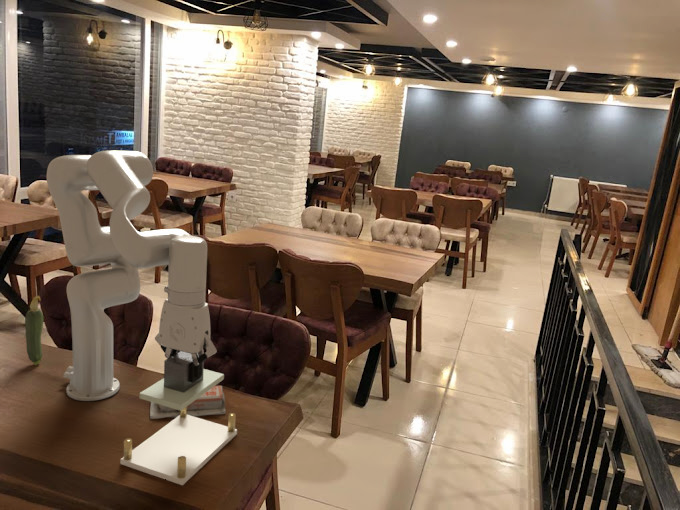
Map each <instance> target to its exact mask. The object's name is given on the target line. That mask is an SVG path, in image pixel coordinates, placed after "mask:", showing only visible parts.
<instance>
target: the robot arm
mask: <svg viewBox="0 0 680 510" xmlns="http://www.w3.org/2000/svg"><path fill="white" fill-rule="evenodd" d="M153 176H154V168H153V165H152V162H151V160H150V159H149V157H147V155H146V154H144V153H142V152H141V151H137V150H113V149H112V150H111V149H109V150H100V151H98V152H95V153H93V154H92V155H91V154H67V155H62V156H58V157H56V158H54V159H52V160H51V161H50V162H49V164H48V166H47V170H46V183H47V188H48V192H49V195H50V196H51V199H52V201H53V203H54V205H55V208H56V210H57V212H58V216H59V221H60V226H61V232H62V237H63V242H64V247H65V252H66V256H67V259H68V261H69V262H70V264H71V265H72V266H75V267H79V268H80V267H81V268H82V267H83V268H84V267H86V268H87V267H92V266H93V267H94V266H100V265H105V264H110V267H111V268H106V269H100V270H99V269H98V270H93V271H86V272H82V273H79V274H77V275H75V276H73V277H72V278H71V279H69V281H68V283H67V285H66V295H67V301H68V305H69V309H70V310H69V311H70V317H71V338H72V341H71V342H72V343H71V344H72V347H71V348H72V366H71V365H69V366H68V367H67V368H66V371H65V372H64V373H63V375H62V377H63V378H67V379H69V384H67V386H66V390H65V391H66V395H67V396H68V397H69V398H70V399H73V400H76V401H81V402H93V401H100V400H105V399H107V398H110V397H112V396H114V395H115V394H117V392H119V390H120V388H121V385H120V384H121V383H120V381H119V379H117V378H115V377H114V324H113V322H112V321H113V320H111V318H110V316H109V315H107V314H106V313H105V311H104V310H105V309H107V308H110V307H116V306H120V305H124V304H128V303H133V301H135V300H137V299H138V298H139V295H140V293H141V280H140V279H141V278H140V274H139V269H142V270H143V269H148V268H153V267H154V268H155V267H160V266H168V272H167V273H168V275H167V276H168V277H167V280H168V281H167V282H168V283H167V285H166V286H164V289H163V292H164V293H166V294H167V298H166V299H165V300H164V301H163V305H162V308H161V312H160V318H159V319H160V320H159V328H158V333H157V334H156V335H155V337H154V341H156V342H157V344H158V345H159V346H160V348H161V350H162V352H163V353H164V357H165V358H166V359H168V358H170V357H172V356H173V355H175V354H177V353H178V351H179V352H180V351H182V352H186V353H190V354H191V356H192V361H193V364H192V365H191V372H190V382H192V383H194V382H195V381H197V380H198V379H199V378H201V376H202V362H203V361H204V362H205V361H206V360H207V359H209V358H210V357H211V356H213V355H215V354H216V353H218V352H217V351H218V350H217V348H216V346H215V345H214V343H213V341H212V340H211V318H210V317H211V315H210V311H209V310H210V309H209V305H208V302H206V295H207V293H206V291H207V270H208V269H207V268H208V267H207V266H208V243H207V241H206V239H204V238H202V237H200V236H196V235H191V234H190V233H188V232H187V231H186V230H184V229H182V228H172V227H171V228H163V229H153V230H144V231H143V230H142V231H138V230H137V229H136V228H135V227H134V225H133V223H132V222H131V220H133V219H135V218H136V217H138V216H140V215H141V214H142V213H143V212H145V211H146V209H147V208H148V207H149V205H150V202H151V194H150V191H149V190H148V189H147V187H146V186H147V185H149V184H150V183H151V182H152V179H153ZM82 191H99V192H100V193H101V196H103V198H104V199H105V201H106V202H107V203H108V205H109V206H110V208H111V209H112V211H111V213H110V217H109V225H107V226H106V225H105V226H101V224H100V221H99V217H98V216H99V215H98V210H97V208H96V206H95V205H94V203H93V202H92V201H91V200H90V199H89V197H87V196H86V195H85V194H84V193H83V192H82ZM204 348H205V350H206V352H204V351H205V350H204ZM197 353H198V354H197ZM198 356H199V357H198Z"/></svg>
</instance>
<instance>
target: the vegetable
mask: <svg viewBox="0 0 680 510" xmlns="http://www.w3.org/2000/svg"><path fill="white" fill-rule="evenodd" d="M40 301H42V300H41V296H40V295H37V296H35V297H33V299H32V300H31V302H30V305H29V309H28V310H27V312H26V313H25V318H24V325H25V326H24V327H25V328H24V329H25V342H26V352H27V356H28V360H29V361H31V363H33V364H34V365H35V366H38V365H39V363H40V362H42V358H43V350H42V349H43V347H42V341H41V340H42V333H43V332H42V331H43V326H44V314H43V312H42V311H41V309H40V308H39V302H40Z"/></svg>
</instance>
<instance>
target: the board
mask: <svg viewBox="0 0 680 510" xmlns="http://www.w3.org/2000/svg"><path fill="white" fill-rule="evenodd" d="M197 354H198V353H197ZM198 357H199V356H198ZM163 362H164V364H163V365H164V366H163V369H164V370H163V378H161V379H160V380H158V381H157V382H155V383H154V384H151V386H148V387H147V388H146V389H144V390H142V391H140V392H139V399H140V400H144V401H148V402H150V403H151V402H153V403H157V404H160V405H163V406H167V407H170V408H173V409H177V410H180V411H181V410H183V409H184V408H185V407H187V406H188V405H189V404H191V403H192V402H193V401H195V400H196V399H197V398H199V397H200V396H202V395H203V394H204V393H206V392H207V391H208V390H210V389H211V388H212V387H214V386H218V384H220V382H222V381H223V380H224V379H225V374H224V373H221V372H216V371H214V370H209V369H207V368H206V369H205V368H204V366H205V364H204V363H205V361H203V362H202V376H201V378H199V379H198V380H197V381H195V382H194V383H192V382H190V372H191V365H192V364H193V361H192V356H191V354H190V353H186V352H182V351H179V352H177V354H175V355H173V356H172V357H170V358H168V359H167V358H166V359H165V360H164V361H163Z"/></svg>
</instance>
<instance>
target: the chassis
mask: <svg viewBox="0 0 680 510" xmlns="http://www.w3.org/2000/svg"><path fill="white" fill-rule="evenodd" d="M236 417H237V416H236V413H234V412H230V413H228V419H227V422H228V424H227V425H224V424H221V423H216V422H214V421H210V420H207V419H204V418H200V417H198V416H190V415H187V407H185V408H184V409H183V410H181V411H180V415H179V416H178V417H174V419H172V420H170V422H168V423H167V424H166V425H164V426H163V427H162V428H159V430H157V431H156V432H155V433H154V434H152V435H151V436H150V437H148V438H147V439H146V440H143V442H141V443H140V444H139V445H137V446H136V447H134V448H133V439H132V438H125V439H124V440H123V457H122V458H120V465H122V466H124V467H125V466H126V467H128V468H131V469H133V470H137V471H139V472H143V473H146V474H148V475H150V476H155V477H157V478H159V479H163V480H165V479H166V481H168V482H172V483H175V484H177V485H180V486H184V485H185V484H186V483H187V482H188V481H189V480H190V479H192V478H193V476H194V475H195V474H196V473H198V472H199V470H200V469H202V468H203V467H204V466H205V465H207V463H208V462H209V461H210V460H211V459H213V457H214V456H215V455H217V454H218V453H219V452H220V451H221V450H222V449H223V448H224V447H225V446H226V445H227V444H228V443H229V442H230V441H232V439H234V438H235V437H236V436H237V435H238V429H237V428H236Z"/></svg>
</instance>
